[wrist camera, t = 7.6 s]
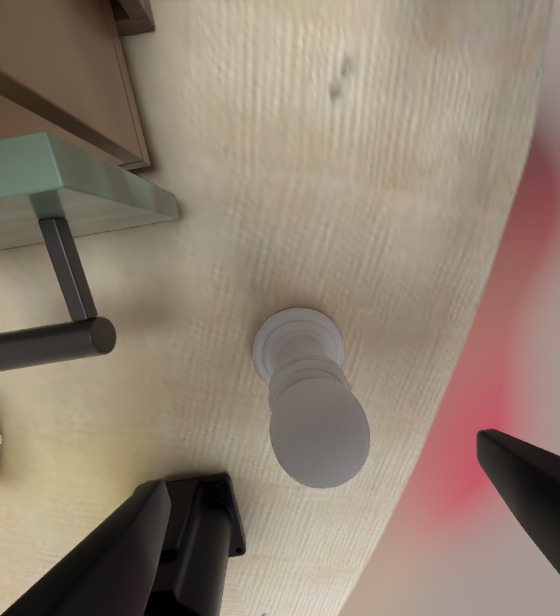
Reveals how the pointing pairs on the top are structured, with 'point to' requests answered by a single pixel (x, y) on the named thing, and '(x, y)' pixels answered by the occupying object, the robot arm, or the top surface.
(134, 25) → the cabinet
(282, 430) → the chess piece
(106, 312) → the top surface
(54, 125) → the drawer
